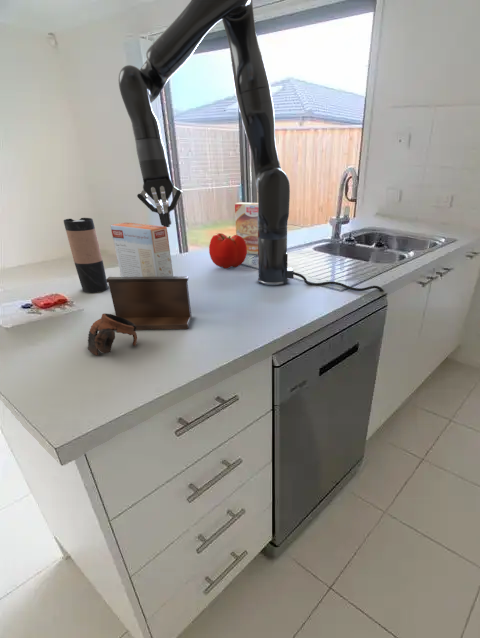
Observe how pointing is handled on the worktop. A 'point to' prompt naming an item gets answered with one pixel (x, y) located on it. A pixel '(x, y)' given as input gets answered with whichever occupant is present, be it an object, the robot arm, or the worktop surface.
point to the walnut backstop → (152, 301)
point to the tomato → (227, 250)
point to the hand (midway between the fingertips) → (167, 227)
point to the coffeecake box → (247, 225)
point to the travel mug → (86, 254)
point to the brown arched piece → (108, 332)
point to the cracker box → (142, 250)
